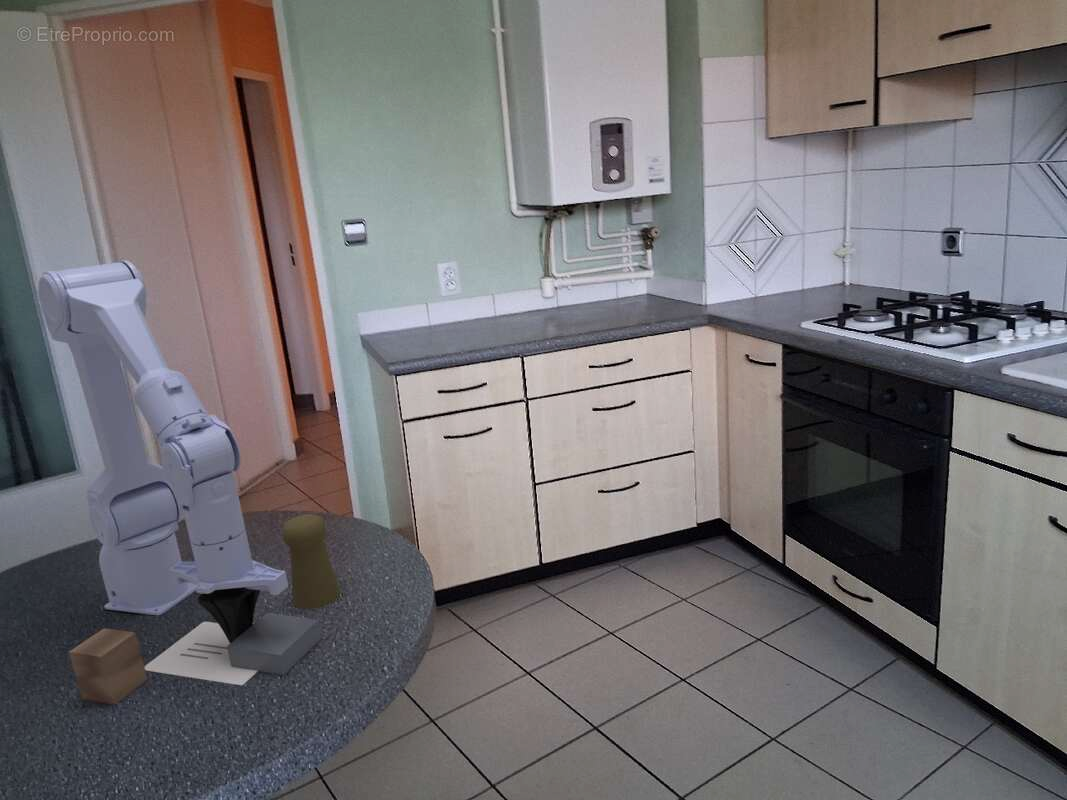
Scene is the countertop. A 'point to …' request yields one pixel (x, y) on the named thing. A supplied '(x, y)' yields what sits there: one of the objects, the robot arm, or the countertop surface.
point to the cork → (310, 562)
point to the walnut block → (108, 666)
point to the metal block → (274, 643)
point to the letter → (201, 657)
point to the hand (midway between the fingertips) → (242, 642)
